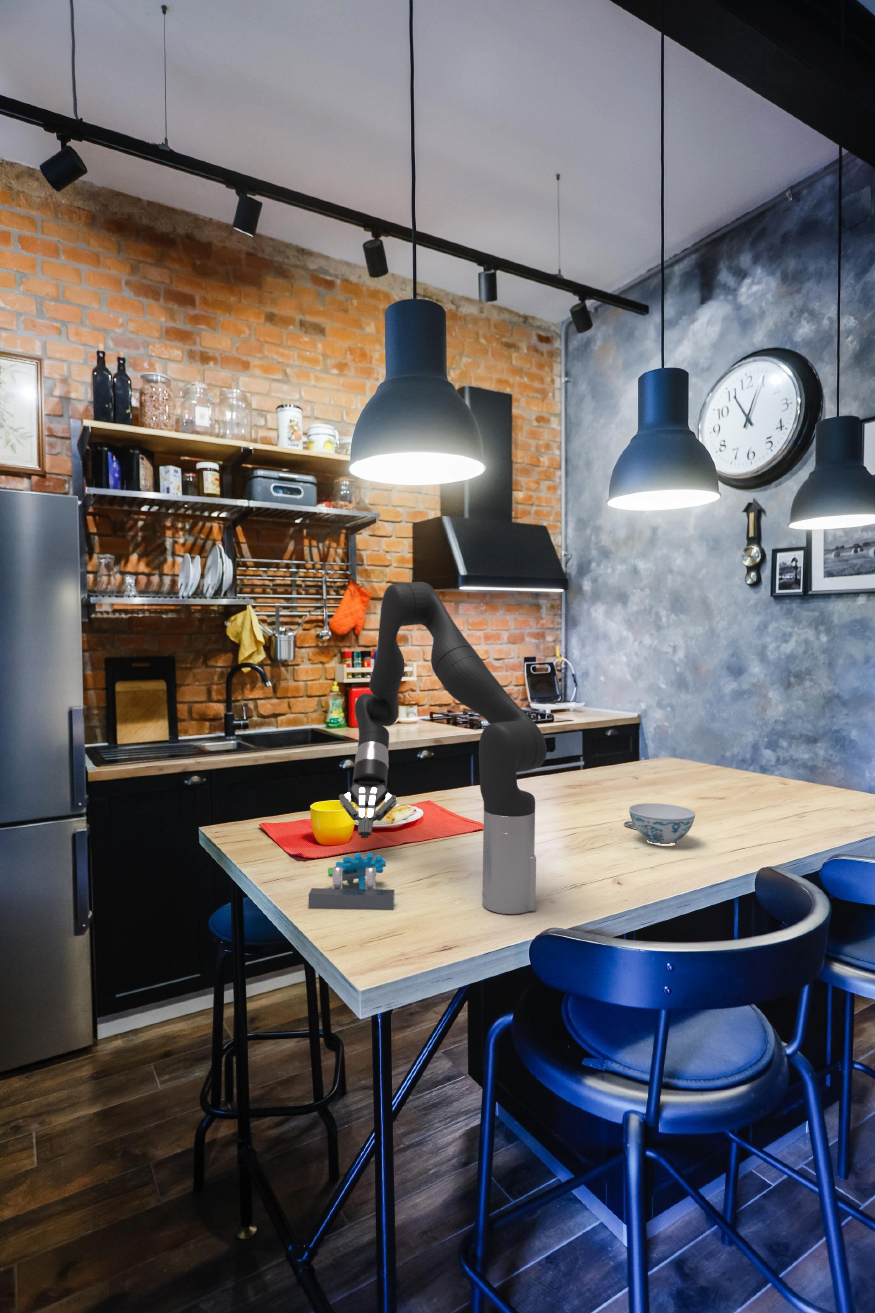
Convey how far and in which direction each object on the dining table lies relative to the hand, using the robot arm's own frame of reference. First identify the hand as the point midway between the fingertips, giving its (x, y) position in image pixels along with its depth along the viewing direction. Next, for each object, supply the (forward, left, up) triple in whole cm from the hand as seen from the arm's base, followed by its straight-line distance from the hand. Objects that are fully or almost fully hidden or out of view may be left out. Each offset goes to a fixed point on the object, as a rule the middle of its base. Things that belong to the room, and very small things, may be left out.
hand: (364, 836), depth 149 cm
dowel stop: (0, +20, -7) cm, 21 cm away
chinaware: (-68, -22, -7) cm, 72 cm away
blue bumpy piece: (0, +11, -7) cm, 13 cm away
